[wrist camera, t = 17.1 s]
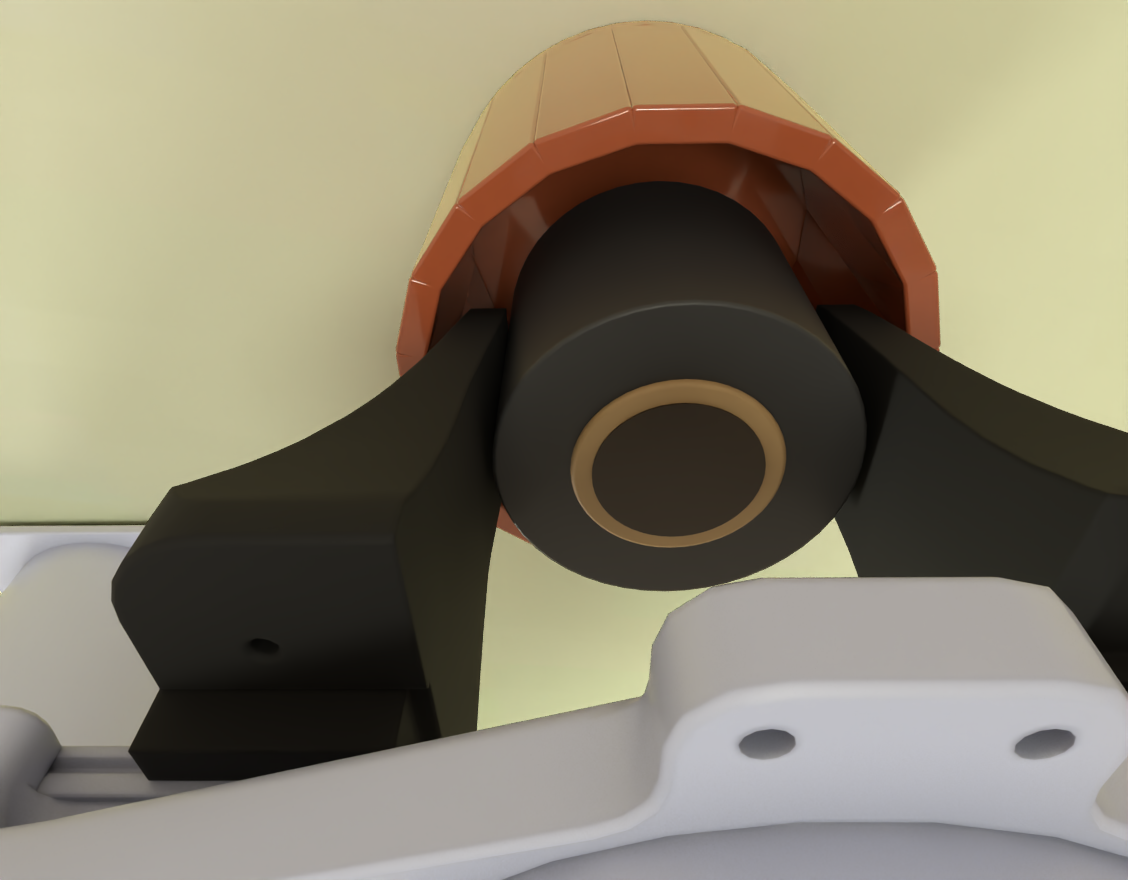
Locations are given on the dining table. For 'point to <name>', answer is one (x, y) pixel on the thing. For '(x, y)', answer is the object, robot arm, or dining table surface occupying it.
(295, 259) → the dining table surface
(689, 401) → the tape roll
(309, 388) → the dining table surface
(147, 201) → the dining table surface
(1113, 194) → the dining table surface
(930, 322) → the pen cup
